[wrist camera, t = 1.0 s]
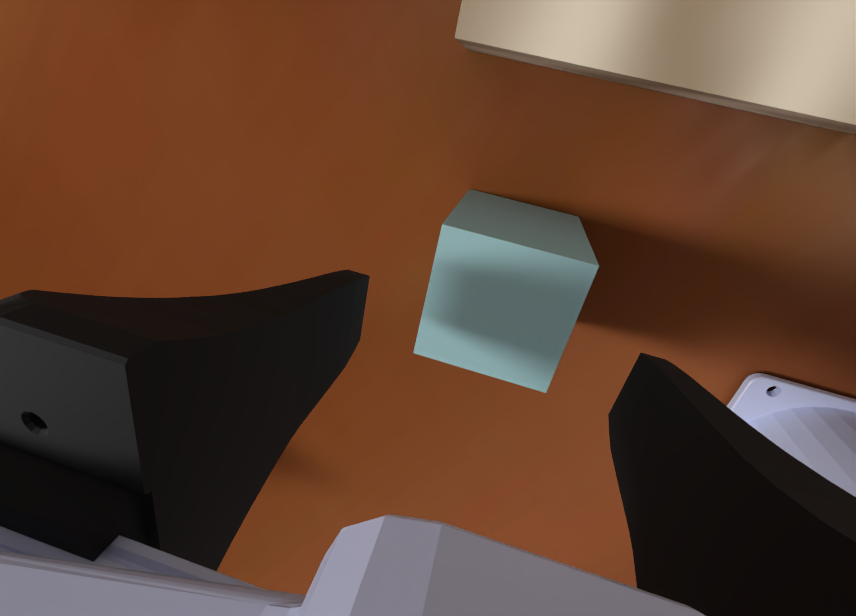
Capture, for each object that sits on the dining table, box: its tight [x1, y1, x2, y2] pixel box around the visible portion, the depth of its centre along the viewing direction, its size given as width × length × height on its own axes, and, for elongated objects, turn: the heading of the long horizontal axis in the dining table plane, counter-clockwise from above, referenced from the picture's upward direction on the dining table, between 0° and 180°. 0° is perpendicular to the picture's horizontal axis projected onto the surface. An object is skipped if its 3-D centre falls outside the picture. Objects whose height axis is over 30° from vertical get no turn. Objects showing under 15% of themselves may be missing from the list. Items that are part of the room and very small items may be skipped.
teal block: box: [414, 189, 599, 393], centre depth 16 cm, size 4×4×6 cm
